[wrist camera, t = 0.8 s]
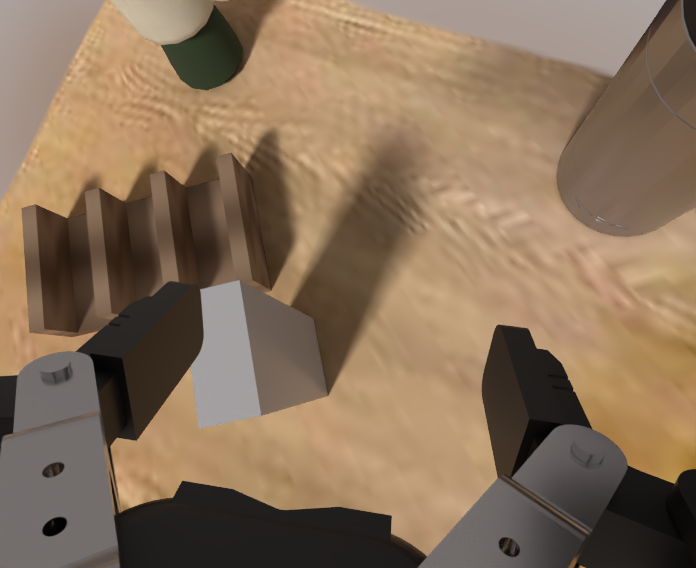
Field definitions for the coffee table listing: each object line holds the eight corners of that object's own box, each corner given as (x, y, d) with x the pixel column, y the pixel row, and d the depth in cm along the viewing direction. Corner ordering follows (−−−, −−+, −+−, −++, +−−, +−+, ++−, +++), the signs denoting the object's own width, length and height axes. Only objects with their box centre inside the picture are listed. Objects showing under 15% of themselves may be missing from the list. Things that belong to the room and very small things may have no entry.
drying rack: (63, 225, 41) (21, 208, 37) (251, 176, 40) (231, 152, 35) (72, 336, 39) (29, 332, 35) (271, 290, 37) (252, 280, 33)
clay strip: (279, 326, 37) (181, 294, 21) (313, 318, 37) (239, 279, 21) (292, 403, 36) (198, 428, 20) (328, 395, 35) (261, 415, 20)
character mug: (278, 33, 42) (219, -114, 29) (258, 105, 41) (188, -14, 28) (168, 21, 44) (68, -122, 31) (146, 90, 43) (33, -28, 30)
